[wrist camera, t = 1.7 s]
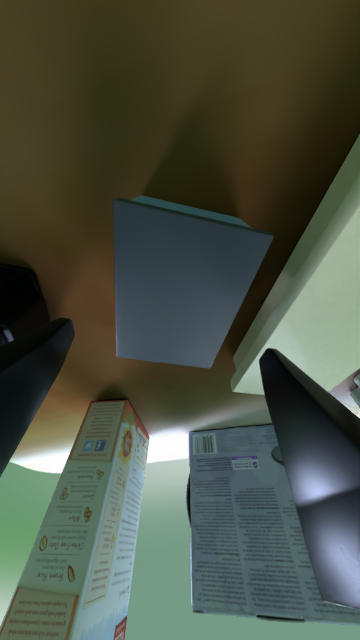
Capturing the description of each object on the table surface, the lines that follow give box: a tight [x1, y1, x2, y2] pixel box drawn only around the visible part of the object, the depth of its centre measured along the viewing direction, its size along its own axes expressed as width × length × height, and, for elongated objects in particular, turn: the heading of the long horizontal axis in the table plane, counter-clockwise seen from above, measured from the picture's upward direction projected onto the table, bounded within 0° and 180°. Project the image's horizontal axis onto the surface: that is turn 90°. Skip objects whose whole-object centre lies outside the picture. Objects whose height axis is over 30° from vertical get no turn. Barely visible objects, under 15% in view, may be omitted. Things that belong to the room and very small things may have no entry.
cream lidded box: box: [230, 134, 360, 395], centre depth 14 cm, size 9×20×4 cm, turn 169°
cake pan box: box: [186, 425, 360, 626], centre depth 26 cm, size 19×5×18 cm, turn 105°
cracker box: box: [0, 400, 149, 640], centre depth 22 cm, size 14×6×21 cm, turn 6°
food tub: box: [113, 195, 274, 369], centre depth 12 cm, size 7×9×5 cm
